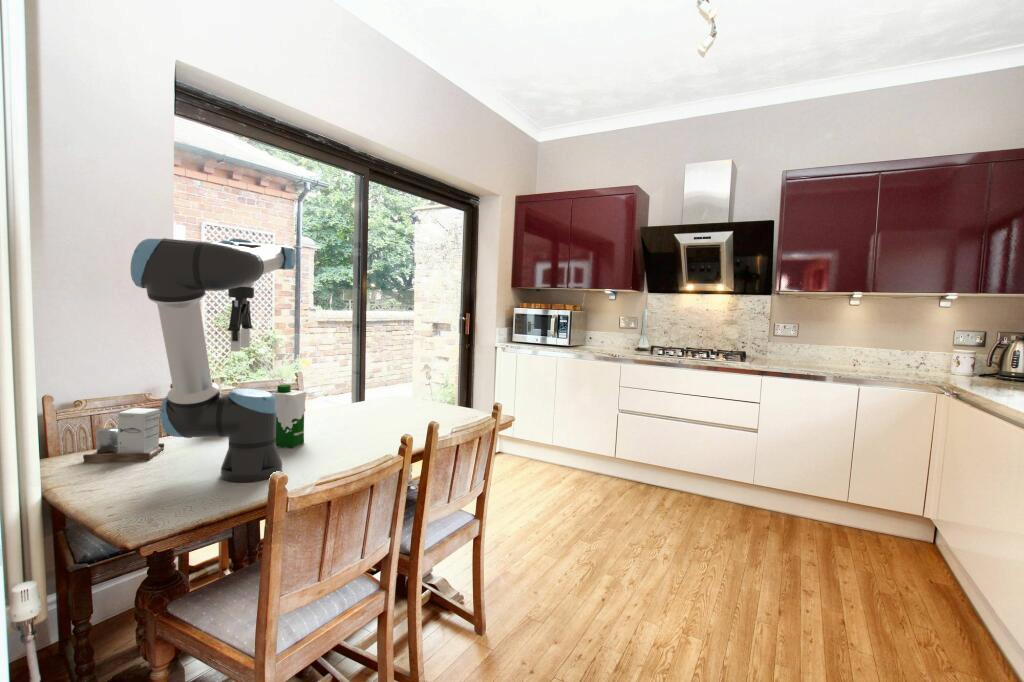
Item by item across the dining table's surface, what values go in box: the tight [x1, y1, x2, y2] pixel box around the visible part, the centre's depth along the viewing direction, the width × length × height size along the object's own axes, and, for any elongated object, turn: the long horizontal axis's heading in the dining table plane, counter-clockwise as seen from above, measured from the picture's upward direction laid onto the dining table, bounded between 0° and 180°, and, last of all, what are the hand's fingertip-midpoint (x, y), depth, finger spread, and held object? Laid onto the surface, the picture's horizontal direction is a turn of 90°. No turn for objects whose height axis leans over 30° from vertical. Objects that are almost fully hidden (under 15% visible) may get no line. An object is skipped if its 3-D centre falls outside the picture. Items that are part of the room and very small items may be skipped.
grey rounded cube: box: [96, 426, 118, 454], centre depth 143 cm, size 5×5×7 cm
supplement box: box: [117, 407, 160, 454], centre depth 144 cm, size 7×7×13 cm
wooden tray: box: [82, 442, 165, 463], centre depth 144 cm, size 16×11×2 cm, turn 106°
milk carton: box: [272, 384, 307, 449], centre depth 163 cm, size 9×9×20 cm
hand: (240, 349), depth 163 cm, fingers open, 13 cm apart
